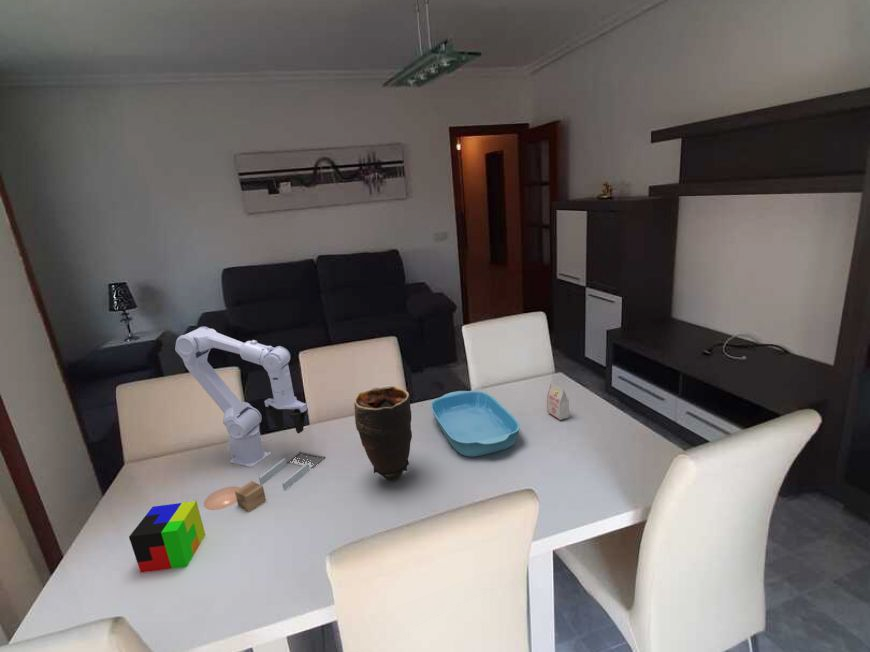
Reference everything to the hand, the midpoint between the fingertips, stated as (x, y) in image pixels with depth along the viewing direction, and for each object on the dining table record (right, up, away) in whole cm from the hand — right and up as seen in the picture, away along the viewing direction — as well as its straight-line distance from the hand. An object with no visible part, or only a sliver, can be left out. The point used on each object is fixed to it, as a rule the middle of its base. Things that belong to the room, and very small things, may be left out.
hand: (290, 430), depth 138 cm
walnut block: (-5, -16, -17) cm, 24 cm away
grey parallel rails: (+1, -12, -7) cm, 14 cm away
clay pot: (+32, -11, -12) cm, 35 cm away
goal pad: (-14, -16, -14) cm, 25 cm away
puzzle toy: (-16, -21, -33) cm, 42 cm away
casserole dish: (+56, -3, +9) cm, 57 cm away
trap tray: (+4, -10, +1) cm, 11 cm away
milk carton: (+85, +2, +15) cm, 86 cm away
